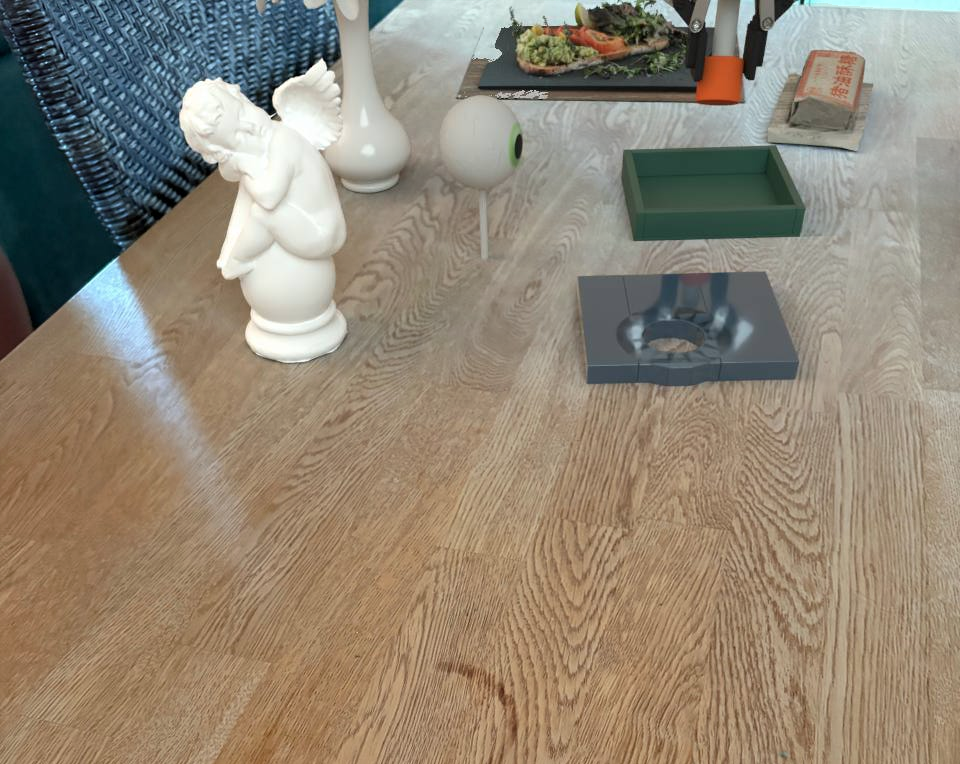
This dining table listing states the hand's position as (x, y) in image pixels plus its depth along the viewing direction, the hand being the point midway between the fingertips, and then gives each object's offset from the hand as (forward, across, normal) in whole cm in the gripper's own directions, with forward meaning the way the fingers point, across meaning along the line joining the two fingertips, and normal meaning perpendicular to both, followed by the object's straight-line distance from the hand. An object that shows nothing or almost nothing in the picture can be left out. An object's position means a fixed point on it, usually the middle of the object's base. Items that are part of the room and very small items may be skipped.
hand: (721, 73), depth 93 cm
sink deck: (+12, +6, +26) cm, 29 cm away
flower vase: (+13, +35, -8) cm, 38 cm away
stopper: (+2, 0, +1) cm, 2 cm away
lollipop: (+13, +22, +12) cm, 28 cm away
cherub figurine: (+13, +37, +21) cm, 44 cm away
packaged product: (+12, -16, -22) cm, 30 cm away
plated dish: (+13, +7, -43) cm, 45 cm away
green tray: (+12, 0, 0) cm, 12 cm away
